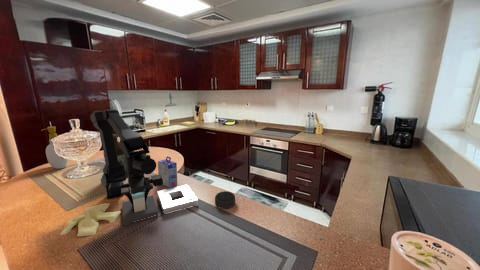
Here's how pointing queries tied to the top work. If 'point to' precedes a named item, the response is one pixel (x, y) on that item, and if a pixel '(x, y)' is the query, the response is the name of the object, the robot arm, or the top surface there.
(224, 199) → the smart speaker
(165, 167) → the ink cartridge box
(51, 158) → the soap bottle
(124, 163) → the olive oil
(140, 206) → the plug
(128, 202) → the dark grey flat frame
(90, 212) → the cloth
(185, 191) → the block
